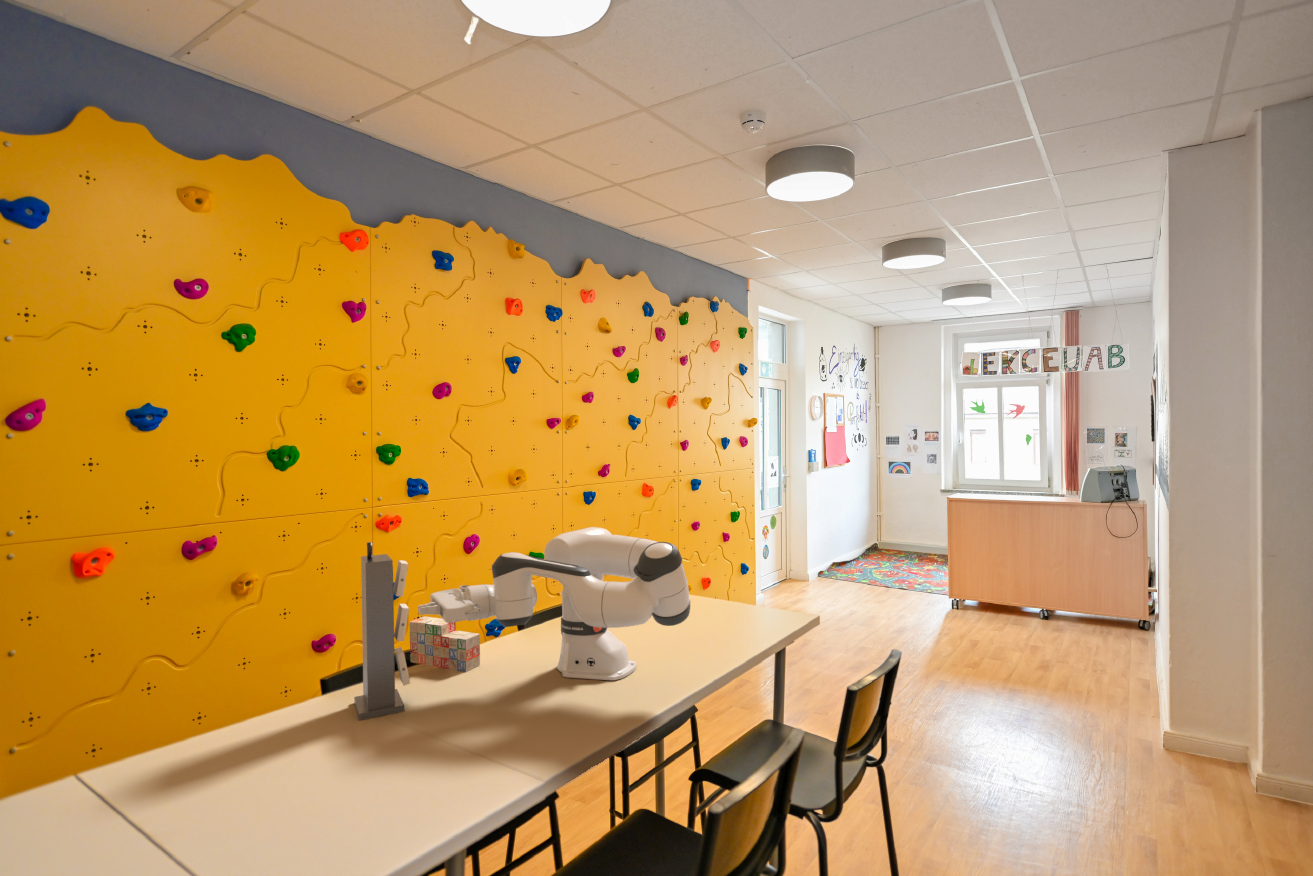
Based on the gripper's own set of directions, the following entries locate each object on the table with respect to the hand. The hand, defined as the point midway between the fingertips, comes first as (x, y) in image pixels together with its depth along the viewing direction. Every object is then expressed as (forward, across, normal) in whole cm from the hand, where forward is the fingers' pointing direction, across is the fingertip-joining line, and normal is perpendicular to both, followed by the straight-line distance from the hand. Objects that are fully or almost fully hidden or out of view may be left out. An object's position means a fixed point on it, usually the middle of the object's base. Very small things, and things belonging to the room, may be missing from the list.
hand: (418, 610), depth 168 cm
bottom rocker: (+3, 0, -17) cm, 18 cm away
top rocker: (+5, 0, +5) cm, 7 cm away
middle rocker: (+5, 0, -6) cm, 8 cm away
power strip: (+10, 0, -22) cm, 24 cm away
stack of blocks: (-11, +24, -23) cm, 35 cm away
